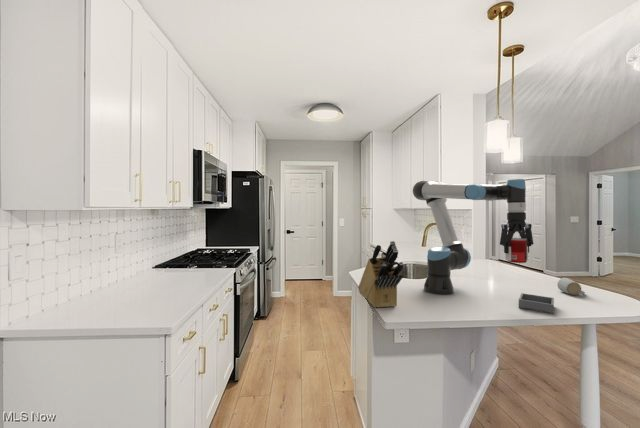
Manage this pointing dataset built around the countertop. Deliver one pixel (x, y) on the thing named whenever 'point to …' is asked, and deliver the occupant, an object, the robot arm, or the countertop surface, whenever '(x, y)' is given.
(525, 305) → the tray
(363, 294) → the knife block
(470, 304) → the countertop surface
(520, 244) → the canned food
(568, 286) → the ceramic mug
